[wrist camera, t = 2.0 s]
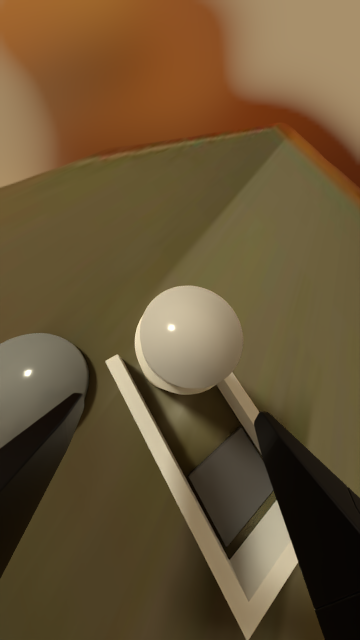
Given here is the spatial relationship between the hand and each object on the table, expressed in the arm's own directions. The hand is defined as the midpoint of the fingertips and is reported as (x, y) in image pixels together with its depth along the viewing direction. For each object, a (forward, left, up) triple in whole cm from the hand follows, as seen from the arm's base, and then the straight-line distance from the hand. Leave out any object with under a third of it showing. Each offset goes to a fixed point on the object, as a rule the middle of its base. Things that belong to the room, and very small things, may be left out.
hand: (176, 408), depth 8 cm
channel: (-4, -2, -10) cm, 11 cm away
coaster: (+8, +10, -10) cm, 16 cm away
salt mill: (+3, -2, -10) cm, 11 cm away
